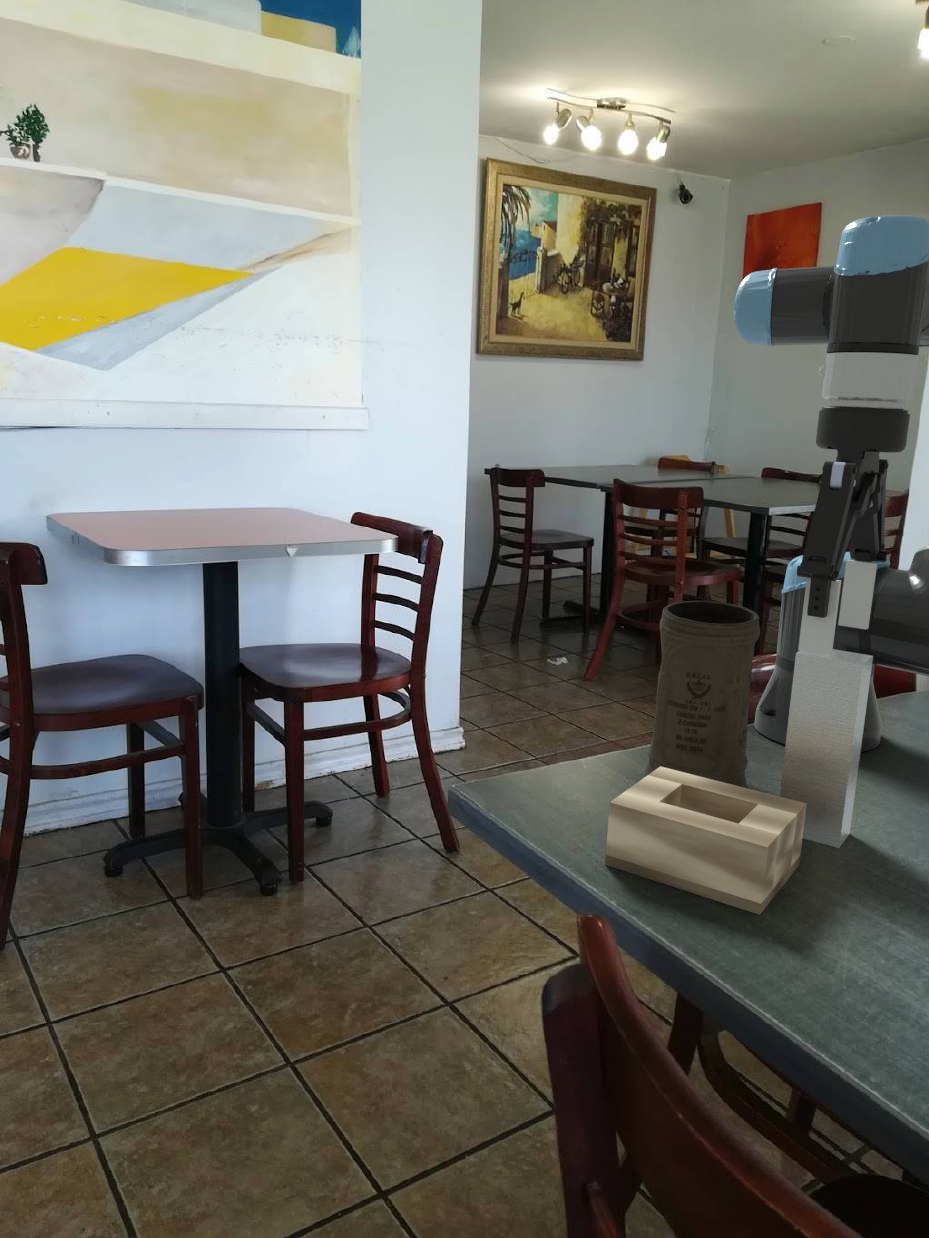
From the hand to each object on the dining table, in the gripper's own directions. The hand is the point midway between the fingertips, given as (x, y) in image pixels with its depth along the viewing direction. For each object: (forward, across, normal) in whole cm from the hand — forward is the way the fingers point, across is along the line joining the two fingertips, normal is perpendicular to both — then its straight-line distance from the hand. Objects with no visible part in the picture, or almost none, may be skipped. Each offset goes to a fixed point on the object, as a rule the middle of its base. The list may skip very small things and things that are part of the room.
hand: (835, 639), depth 91 cm
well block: (+20, +13, -6) cm, 24 cm away
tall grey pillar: (+20, 0, 0) cm, 20 cm away
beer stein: (+20, -5, -14) cm, 25 cm away
